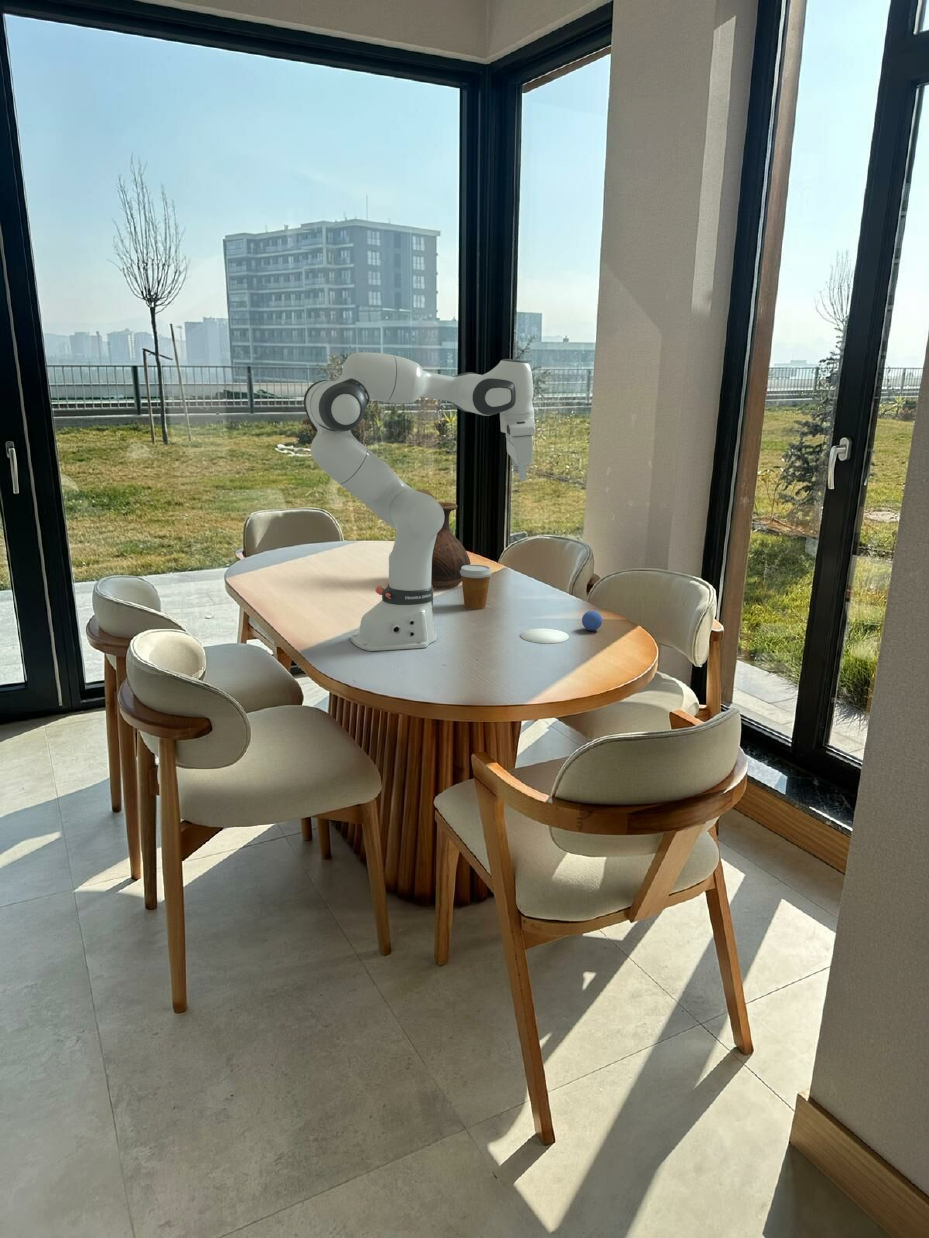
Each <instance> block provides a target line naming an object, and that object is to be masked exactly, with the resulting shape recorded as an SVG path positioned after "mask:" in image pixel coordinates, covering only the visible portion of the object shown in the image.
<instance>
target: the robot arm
mask: <svg viewBox="0 0 929 1238" xmlns="http://www.w3.org/2000/svg"><path fill="white" fill-rule="evenodd" d="M341 372H342V374H341V375H340V377H339V378H338V379H337V380H327V379H324V380H318V381H316V382H314V383H313V384H311V385H310V386H309V387H308V388H307V389H306V390H305V393H304V396H303V408H304V411H305V414H306V417H307V419H308V421H309V423H310V426H311V428H312V430H313V431H314V432H316V435H315V436H314V438H313V439H312V441H311V445H310V455H311V458H312V459H313V460H314V461H315V463H316V464H317V465H318V466H319V467H320V468H321V469H322V471H324V472H325V473H326V475H328V476H329V477H330V478H331V479H332V480H334V481H335V482H336V483H337V484H338V485H340V487H342V488H344V489H345V490H346V491H348V492H349V493H350V494H351V495H352V496H354V497H355V498H357V499H358V500H359V501H360V502H361V503H363V504H364V505H365V506H366V507H367V508H368V509H369V510H370V511H372V512H373V513H374V515H376V516H377V517H378V518H380V519H381V520H382V521H383V522H384V523H385V524H386V525H388V526H389V527H391V528H393V529H395V538H394V543H393V547H392V549H391V551H390V553H389V554H388V585H386V587H385V588H384V587H382V586H380V585H379V586H377V587H376V588H375V593H376V594H378V595H380V596H381V600H380V601H379V602H378V603H377V604H376V605H374V607H372V608H371V609H370V610H368V611H367V612H366V613H364V614H363V615H362V617H361V620H360V625H359V629H358V632H354V633H351V637H350V641H351V643H352V644H354V645H355V646H356V647H358V648H359V649H362V650H365V651H369V652H370V651H371V652H375V651H376V652H377V651H378V652H379V651H393V650H394V651H395V650H408V649H409V650H410V649H424V648H427V647H428V646H429V645H430V644H432V643H433V642H435V641H436V640H437V639H438V635H437V631H436V628H435V622H434V616H433V615H434V614H433V606H434V588H433V586H432V585H431V576H432V554H433V549H434V544H435V540H436V537H437V533H438V532H439V531H440V529H441V528H442V526H443V523H444V511H443V508H442V507H441V505H440V504H439V503H438V502H439V501H436V500H437V499H436V498H435V497H434V498H435V499H436V500H435V499H434V498H433V497H432V496H430V495H428V494H425V493H422V492H419V491H416V490H417V489H414V488H412V487H410V486H409V485H408V483H407V484H406V483H405V482H404V481H403V480H402V479H401V478H400V477H399V476H398V474H396V473H395V471H393V469H392V467H391V466H390V465H388V464H387V463H386V462H385V461H384V460H382V458H380V457H379V456H377V455H376V454H375V453H374V452H373V451H371V450H370V449H368V448H367V447H366V446H365V445H364V444H362V443H361V442H360V441H359V440H358V439H356V437H355V436H354V435H353V433H352V430H353V429H355V428H357V426H359V425H360V423H361V422H362V420H363V418H364V417H365V413H366V410H367V407H368V405H369V403H370V401H371V400H372V401H378V402H382V403H388V404H389V403H391V404H412V403H414V402H417V400H418V399H419V398H428V399H432V400H433V399H434V400H440V401H445V402H449V403H450V404H451V405H453V406H455V407H456V408H457V409H458V410H461V411H463V412H465V413H472V414H473V413H474V414H477V415H481V416H486V417H487V416H488V417H489V416H493V415H497V414H499V421H500V423H499V424H500V432H501V433H504V434H505V438H506V440H505V441H506V452H507V454H508V455H509V456H510V459H511V464H512V472H513V473H514V474H515V475H516V474H518V479H519V481H521V482H524V481H527V471H528V466H531V465H532V464H533V458H534V457H533V455H534V435H536V425H535V408H534V405H533V398H534V381H533V379H534V378H533V374H532V373H533V372H532V367H531V366H530V364H529V363H528V362H526V361H524V360H519V359H518V360H517V359H509V358H505V359H504V358H503V359H501V360H500V361H499V363H498V364H497V365H496V366H494V367H493V368H492V369H491V370H490V371H488V372H486V373H484V374H478V373H475V372H473V371H472V372H463V373H460V374H459V373H458V374H456V375H446V374H440V373H434V372H430V371H426V370H424V369H423V368H422V366H421V364H419V363H418V362H416V361H414V360H411V359H408V358H406V357H403V356H398V355H395V354H388V353H382V352H381V353H380V352H369V351H368V352H367V351H366V352H364V351H363V352H359V351H358V352H354V353H352V354H350V355H349V356H348V357H347V358H346V360H345V361H344V363H343V366H342V371H341Z"/></svg>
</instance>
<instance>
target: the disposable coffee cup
mask: <svg viewBox="0 0 929 1238" xmlns="http://www.w3.org/2000/svg"><path fill="white" fill-rule="evenodd" d="M460 573H461V577H462V582H461V584H462V585H461V586H462V595H463V596H462V597H463V605H464V608H466V609H468V610H481V609H485V608H486V605H487V599H488V592H489V586H490V578H491V575H492V573H493V572H492V569H491V567H490V566H488V565H484V564H483V565H482V564H471V565H465V566H462V567H461V570H460Z"/></svg>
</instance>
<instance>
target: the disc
mask: <svg viewBox="0 0 929 1238" xmlns="http://www.w3.org/2000/svg"><path fill="white" fill-rule="evenodd" d="M520 638H521V639H523V640H525V641H527V642H530V643H536V644H544V645H545V644H549V645H550V644H561V643H564V642H566V641H569V638H570V636H569V634H568V633H566V632H564V631H562V630H557V629H551V628H531V629H530V628H529V629H526V630H523V631H521V632H520Z"/></svg>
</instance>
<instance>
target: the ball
mask: <svg viewBox="0 0 929 1238" xmlns="http://www.w3.org/2000/svg"><path fill="white" fill-rule="evenodd" d="M581 623H582V626H583V627H584V628H585V629H586V630H588V631H590V632H591V631H597V630H598V629H599V628H600V627H602V624H603V617H602V615H601V613H600V612H598V611H596V610H588V611H585V613H584V614H583V615H582V618H581Z"/></svg>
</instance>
